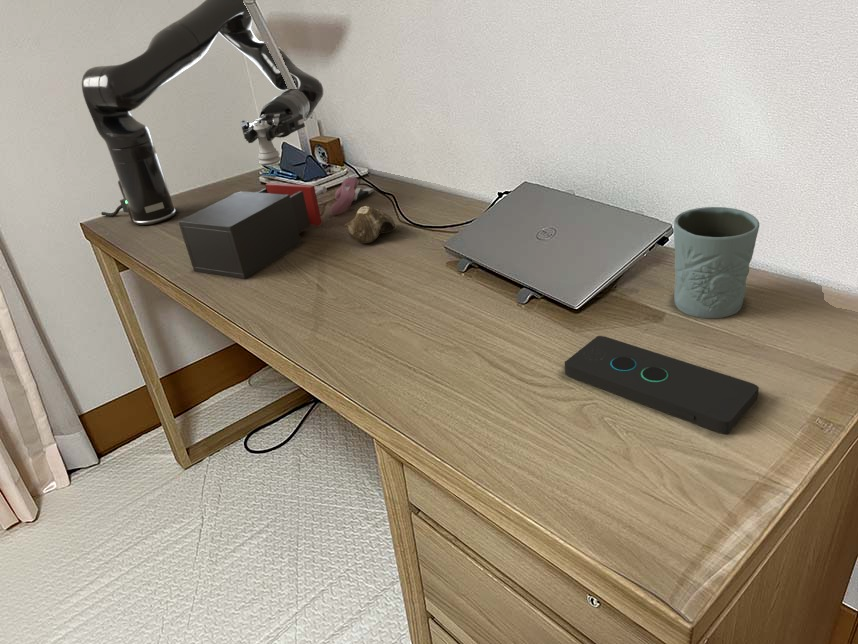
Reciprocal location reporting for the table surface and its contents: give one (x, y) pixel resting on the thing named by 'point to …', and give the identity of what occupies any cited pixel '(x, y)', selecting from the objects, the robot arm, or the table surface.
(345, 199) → the pink irregular lump
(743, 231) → the grey-green embossed cup
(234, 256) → the dark grey box
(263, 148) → the rook chess piece
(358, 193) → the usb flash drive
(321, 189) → the drawer
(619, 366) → the smart home device
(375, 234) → the fossilized seashell
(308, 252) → the table surface
